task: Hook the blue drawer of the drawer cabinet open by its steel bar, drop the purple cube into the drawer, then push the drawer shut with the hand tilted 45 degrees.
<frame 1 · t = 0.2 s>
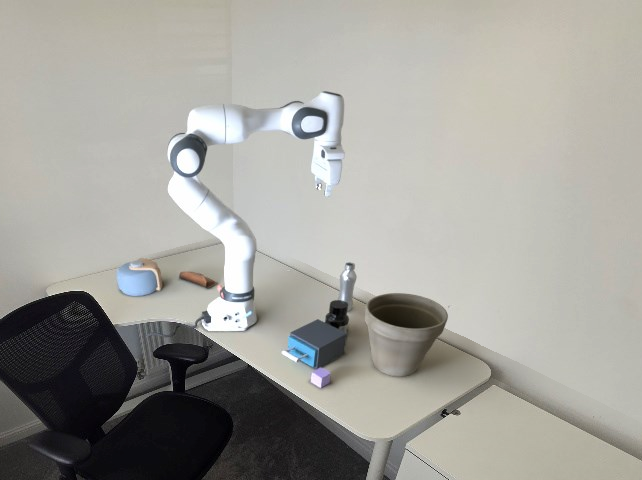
hand: (322, 192, 154), 48 cm above the table, tool pointing down, fingers open, 8 cm apart
flower pot: (393, 365, 152), on the table
ink bottle: (335, 332, 170), on the table
silver metal bottle: (343, 309, 185), on the table
purple cube: (320, 382, 144), on the table
drawer cabinet: (316, 353, 158), on the table
blue drawer: (308, 347, 153), point 4 cm above the table, slide at 0.0 cm
blue kettle: (140, 287, 204), on the table
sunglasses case: (198, 281, 208), on the table
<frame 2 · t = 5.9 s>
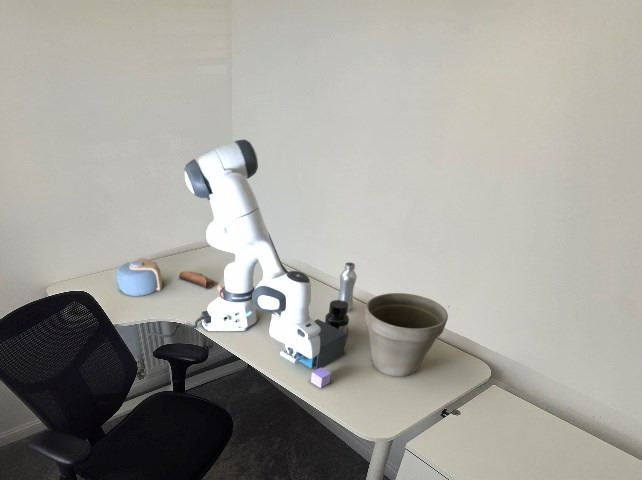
hand: (292, 357, 149), 4 cm above the table, tool pointing down, fingers closed
blue drawer: (306, 348, 152), point 4 cm above the table, slide at 0.9 cm, touching gripper
everything else where it was.
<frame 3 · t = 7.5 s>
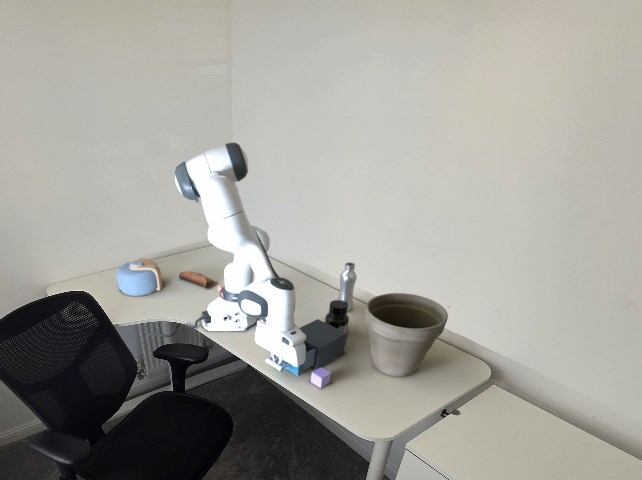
hand: (278, 364, 145), 4 cm above the table, tool pointing down, fingers closed, pressing on blue drawer
blue drawer: (293, 355, 149), point 4 cm above the table, slide at 7.6 cm, touching gripper
everything else where it was.
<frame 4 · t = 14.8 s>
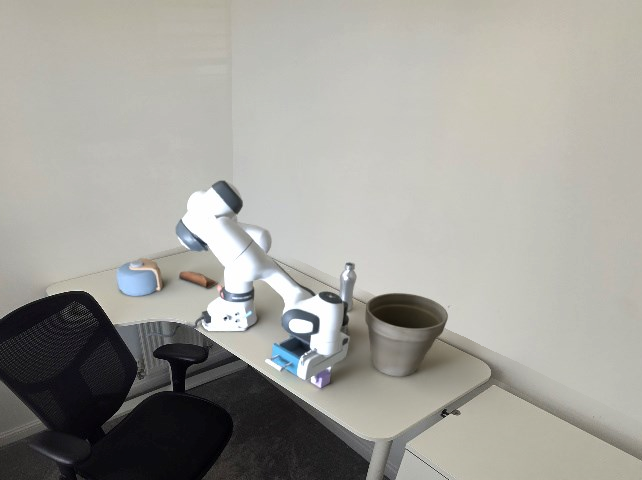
hand: (320, 378, 143), 2 cm above the table, tool pointing down, fingers closed on purple cube, 4 cm apart
purple cube: (320, 382, 144), on the table, touching gripper
blue drawer: (293, 355, 149), point 4 cm above the table, slide at 7.6 cm
everything else where it was.
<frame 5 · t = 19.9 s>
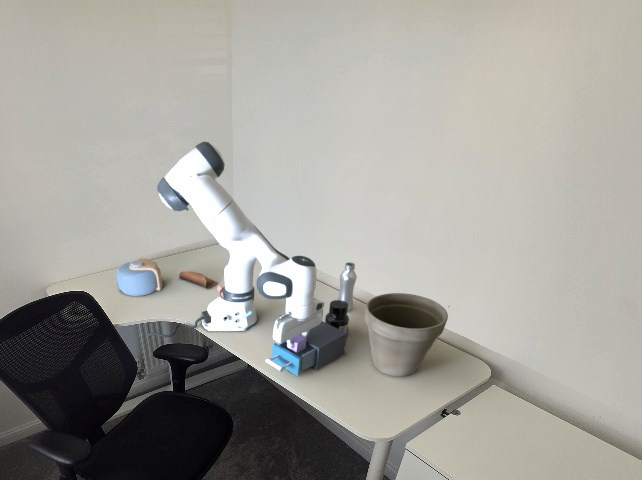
hand: (296, 344, 147), 9 cm above the table, tool pointing down, fingers closed on purple cube, 4 cm apart
purple cube: (296, 348, 148), point 7 cm above the table, touching gripper
everything else where it was.
when the fingers open (10 cm above the table, at t = 33.5 s): purple cube drops 7 cm, resting on blue drawer.
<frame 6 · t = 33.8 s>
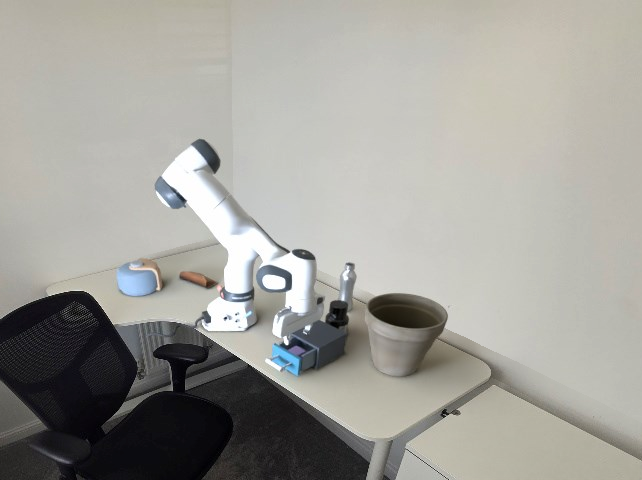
hand: (297, 338, 146), 11 cm above the table, tool pointing down, fingers open, 8 cm apart
purple cube: (295, 360, 151), point 2 cm above the table, touching blue drawer
blue drawer: (293, 355, 149), point 4 cm above the table, slide at 7.6 cm, touching purple cube
everything else where it was.
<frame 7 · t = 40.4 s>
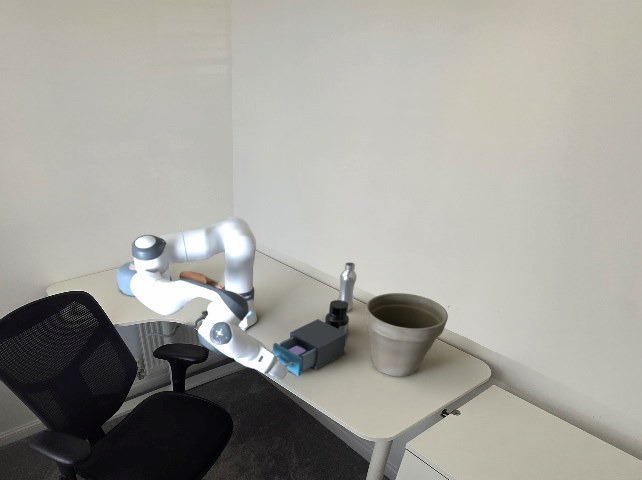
hand: (272, 366, 144), 5 cm above the table, tool tilted 45°, fingers closed, pressing on blue drawer
blue drawer: (293, 355, 149), point 4 cm above the table, slide at 7.4 cm, touching purple cube, gripper
everything else where it was.
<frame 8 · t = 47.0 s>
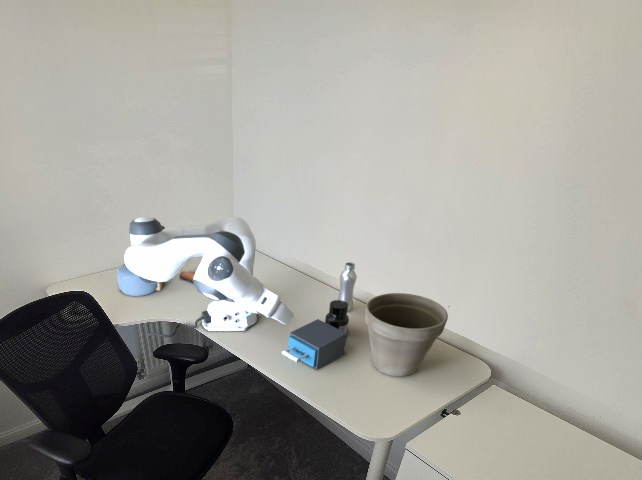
hand: (275, 315, 133), 23 cm above the table, tool tilted 45°, fingers closed
purple cube: (310, 352, 155), point 2 cm above the table, touching blue drawer
blue drawer: (308, 347, 153), point 4 cm above the table, slide at 0.0 cm, touching purple cube, drawer cabinet
everything else where it was.
at the end: blue drawer pulled out 7.6 cm at the most during the clip, back to where it started at the end; purple cube inside the target area in the drawer cabinet (3.2 cm from its centre), point 2.0 cm above the drawer cabinet's base; blue drawer slide at 0.0 cm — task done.
